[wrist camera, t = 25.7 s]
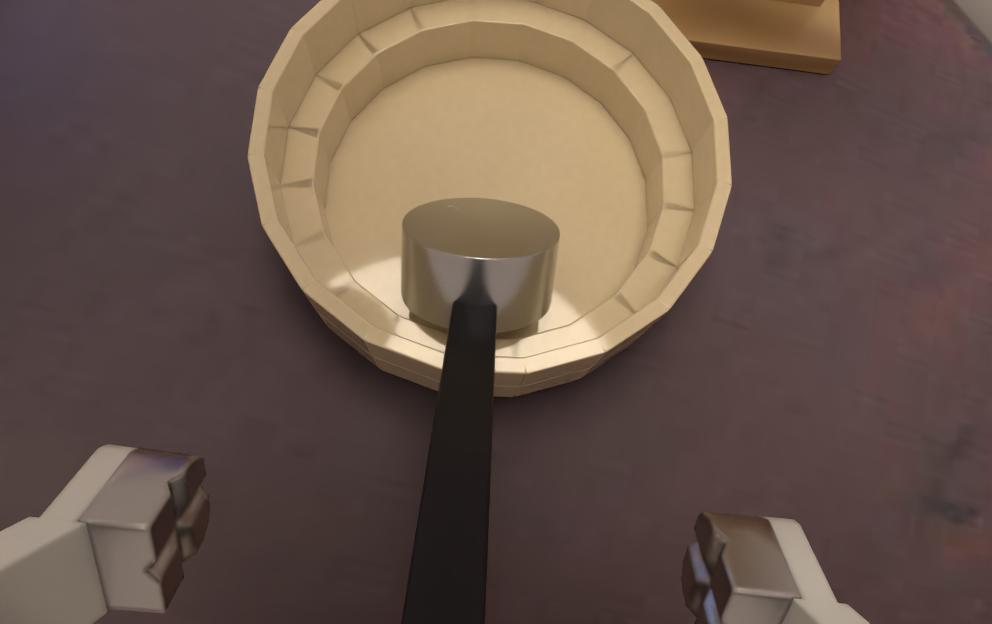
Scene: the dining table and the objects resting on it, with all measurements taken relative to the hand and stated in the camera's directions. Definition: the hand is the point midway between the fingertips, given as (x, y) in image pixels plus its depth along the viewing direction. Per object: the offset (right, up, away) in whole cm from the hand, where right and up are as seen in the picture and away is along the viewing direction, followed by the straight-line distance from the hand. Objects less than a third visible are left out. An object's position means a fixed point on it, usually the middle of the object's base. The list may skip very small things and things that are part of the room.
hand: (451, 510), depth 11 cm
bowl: (0, +8, +20) cm, 22 cm away
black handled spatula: (0, 0, +9) cm, 9 cm away
